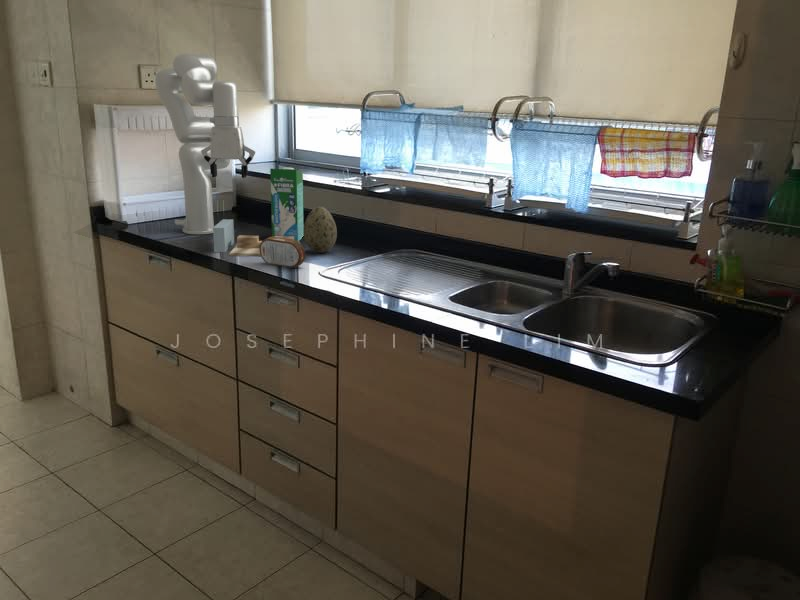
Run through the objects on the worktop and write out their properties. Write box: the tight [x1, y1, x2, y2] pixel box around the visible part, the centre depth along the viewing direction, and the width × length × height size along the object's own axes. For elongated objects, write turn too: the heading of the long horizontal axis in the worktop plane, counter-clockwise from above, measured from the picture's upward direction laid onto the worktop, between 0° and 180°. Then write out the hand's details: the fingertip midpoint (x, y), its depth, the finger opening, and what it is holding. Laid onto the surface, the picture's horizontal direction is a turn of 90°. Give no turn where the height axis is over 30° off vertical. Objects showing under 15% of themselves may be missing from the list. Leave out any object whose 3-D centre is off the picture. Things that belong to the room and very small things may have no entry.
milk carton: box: [269, 166, 304, 242], centre depth 237 cm, size 9×9×25 cm
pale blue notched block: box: [212, 218, 235, 253], centre depth 225 cm, size 14×4×8 cm, turn 1°
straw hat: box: [229, 234, 301, 257], centre depth 224 cm, size 20×18×4 cm
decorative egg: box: [303, 205, 338, 254], centre depth 221 cm, size 11×11×15 cm
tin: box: [259, 235, 306, 269], centre depth 205 cm, size 15×3×8 cm, turn 65°
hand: (229, 177), depth 220 cm, fingers open, 9 cm apart
